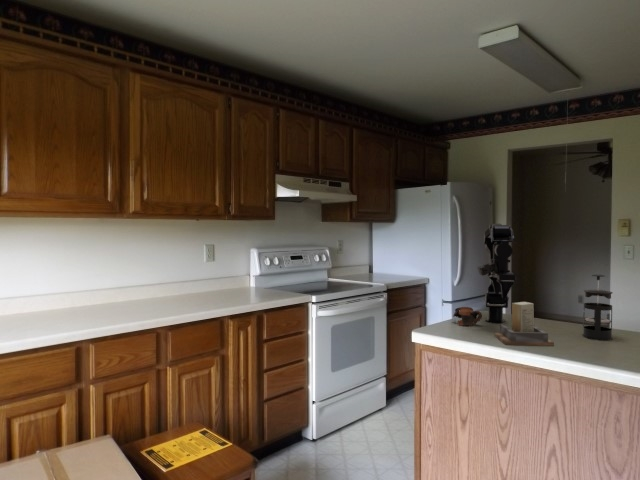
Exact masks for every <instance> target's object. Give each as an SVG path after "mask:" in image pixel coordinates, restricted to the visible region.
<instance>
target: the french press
mask: <svg viewBox="0 0 640 480" xmlns="http://www.w3.org/2000/svg"><path fill="white" fill-rule="evenodd" d="M591 277H596V280H597V289H584V290H583V292H584V295H585V298H590V297H594V296H595V297H597V298H596V299H597V300H596V301H597V302H585V303H583V309H587V310H593V311H594V312H593V313H594V316H593V317H585V313H583V314H582V315H583V320H582V321H583V324H582V330H583V331H582V337H583V338H586V339H589V340H596V341H611V340H613V305H612V304H608V303H603V302H599V297H604V298H606V299H608V300H610V299H612V294H613V291H609V290H605V289H599V287H600V281H601V277H605V275H604V274H592V275H591ZM602 311H610V312H611V313H610V319H607V318H602ZM585 322H587V323H592V324H593V325H585ZM606 324H607V325H609V324H610V327H606V326H601V325H606Z"/></svg>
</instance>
